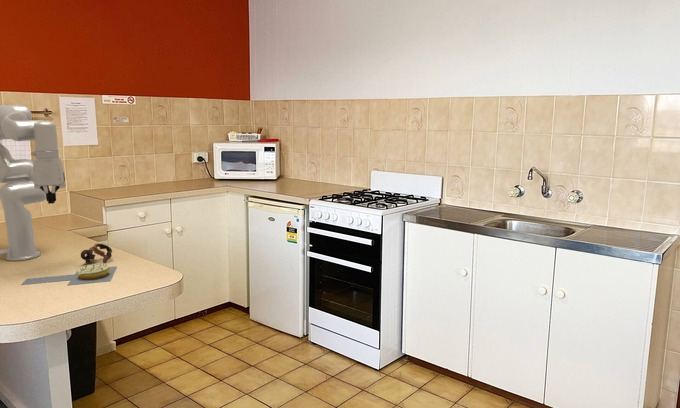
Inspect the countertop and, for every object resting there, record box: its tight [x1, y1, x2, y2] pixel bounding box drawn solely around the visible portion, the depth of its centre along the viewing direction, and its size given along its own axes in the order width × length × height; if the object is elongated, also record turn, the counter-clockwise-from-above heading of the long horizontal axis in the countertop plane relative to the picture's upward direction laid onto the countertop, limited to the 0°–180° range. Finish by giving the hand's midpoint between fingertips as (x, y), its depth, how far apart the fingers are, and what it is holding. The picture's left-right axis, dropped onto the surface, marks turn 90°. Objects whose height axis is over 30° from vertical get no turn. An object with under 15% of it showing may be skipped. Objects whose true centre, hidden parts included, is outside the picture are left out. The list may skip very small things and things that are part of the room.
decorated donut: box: [76, 263, 110, 279], centre depth 194 cm, size 10×11×4 cm
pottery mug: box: [80, 243, 113, 264], centre depth 213 cm, size 12×10×8 cm
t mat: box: [21, 265, 118, 286], centre depth 194 cm, size 30×19×1 cm, turn 106°
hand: (51, 202), depth 202 cm, fingers closed
